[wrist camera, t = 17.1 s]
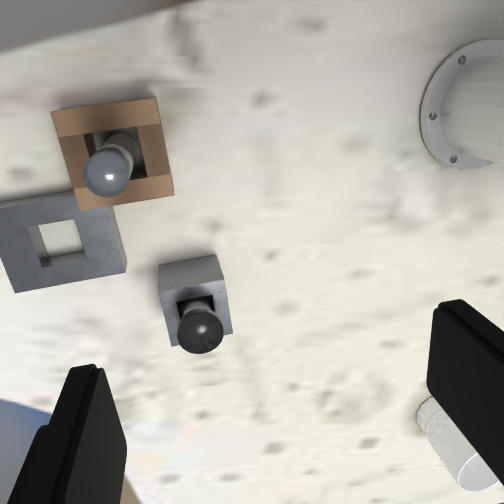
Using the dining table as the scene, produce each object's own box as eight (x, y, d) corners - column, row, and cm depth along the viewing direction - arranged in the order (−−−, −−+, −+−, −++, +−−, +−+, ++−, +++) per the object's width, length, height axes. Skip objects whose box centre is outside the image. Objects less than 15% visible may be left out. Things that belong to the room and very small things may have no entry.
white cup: (444, 434, 62) (493, 494, 53) (402, 428, 59) (446, 490, 50) (470, 393, 59) (526, 449, 50) (428, 385, 57) (479, 442, 48)
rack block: (155, 96, 36) (155, 98, 32) (173, 185, 39) (174, 195, 35) (61, 109, 35) (50, 112, 31) (87, 198, 38) (79, 210, 34)
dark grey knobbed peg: (208, 266, 43) (220, 309, 34) (214, 299, 44) (226, 348, 36) (170, 274, 42) (173, 319, 34) (177, 306, 44) (181, 358, 35)
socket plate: (106, 185, 38) (103, 191, 36) (127, 262, 41) (125, 272, 39) (-8, 202, 36) (-19, 210, 34) (23, 281, 40) (15, 293, 37)
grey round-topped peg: (133, 131, 37) (122, 151, 26) (141, 162, 38) (133, 193, 27) (102, 135, 36) (77, 157, 25) (110, 166, 37) (89, 200, 26)
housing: (216, 254, 43) (224, 279, 37) (224, 303, 45) (233, 333, 40) (159, 265, 42) (158, 292, 36) (170, 314, 44) (171, 346, 39)
